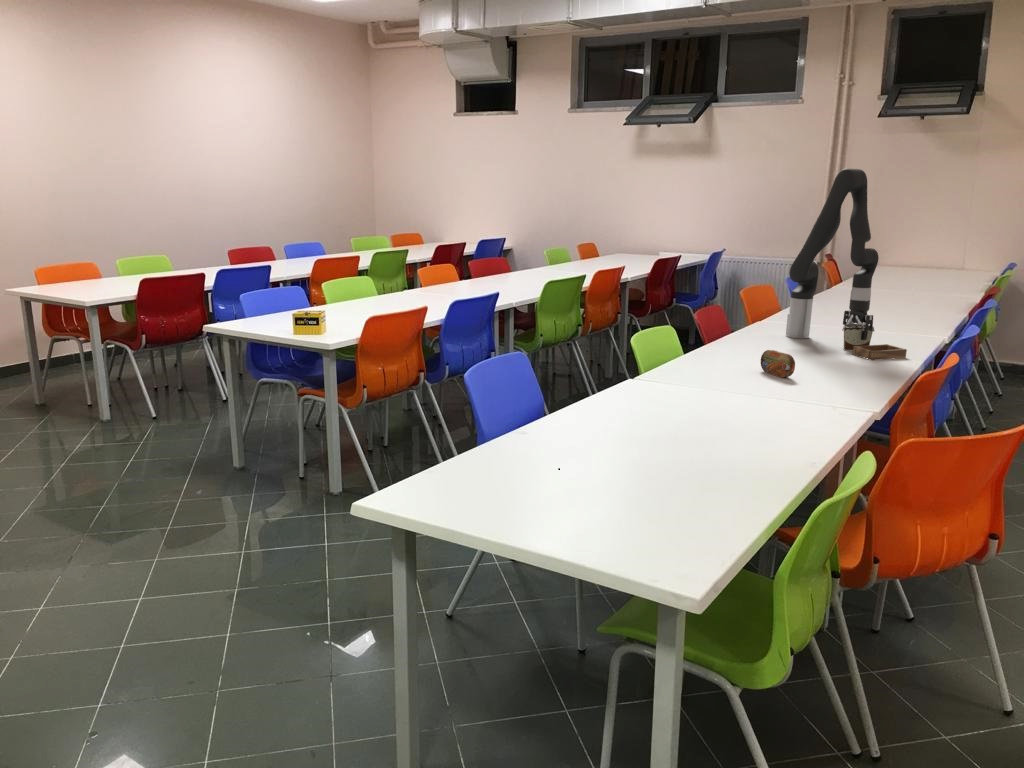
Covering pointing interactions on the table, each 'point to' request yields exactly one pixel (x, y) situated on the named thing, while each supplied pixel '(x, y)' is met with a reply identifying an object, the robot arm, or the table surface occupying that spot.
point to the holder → (879, 351)
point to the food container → (855, 336)
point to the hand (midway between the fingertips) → (856, 338)
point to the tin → (777, 363)
